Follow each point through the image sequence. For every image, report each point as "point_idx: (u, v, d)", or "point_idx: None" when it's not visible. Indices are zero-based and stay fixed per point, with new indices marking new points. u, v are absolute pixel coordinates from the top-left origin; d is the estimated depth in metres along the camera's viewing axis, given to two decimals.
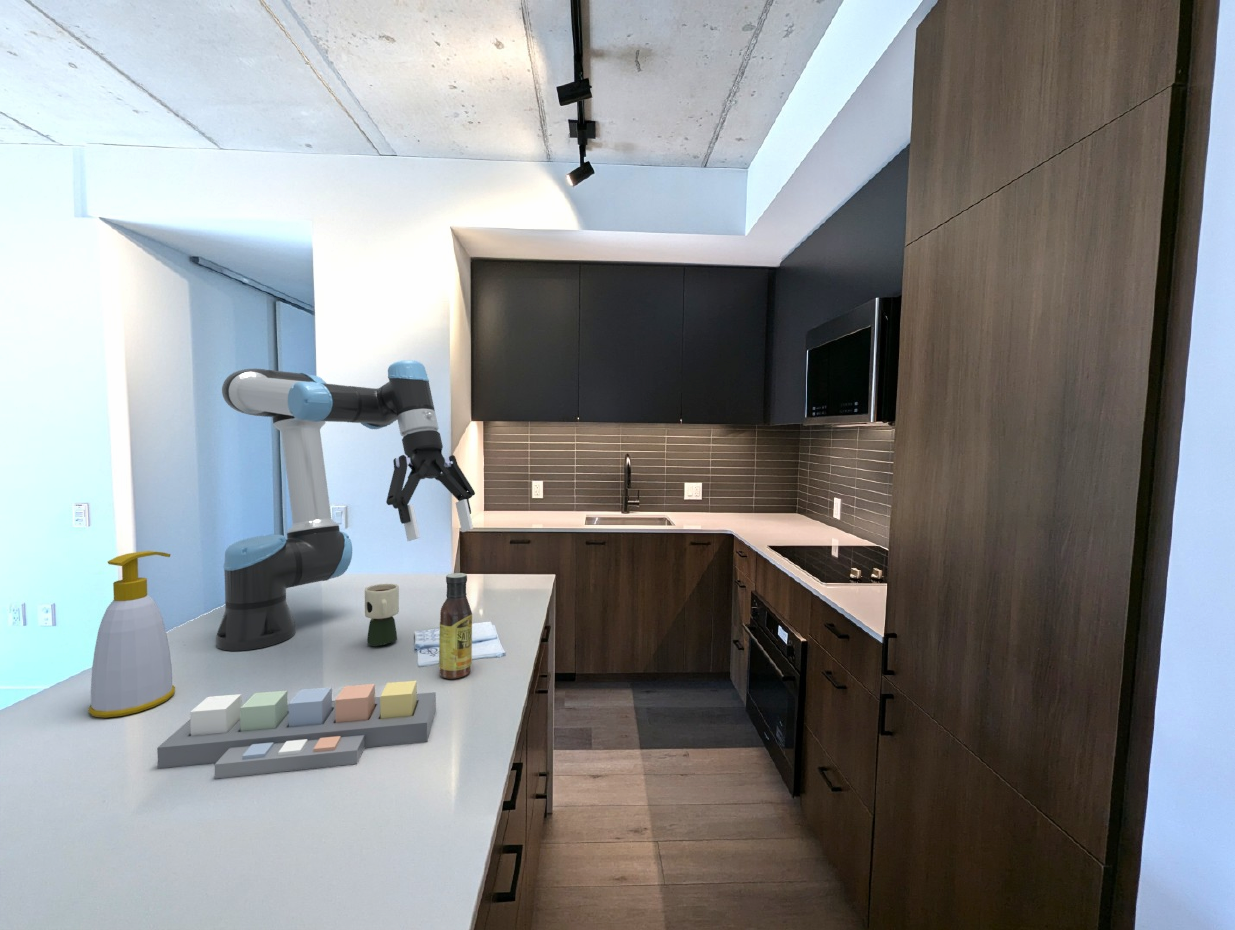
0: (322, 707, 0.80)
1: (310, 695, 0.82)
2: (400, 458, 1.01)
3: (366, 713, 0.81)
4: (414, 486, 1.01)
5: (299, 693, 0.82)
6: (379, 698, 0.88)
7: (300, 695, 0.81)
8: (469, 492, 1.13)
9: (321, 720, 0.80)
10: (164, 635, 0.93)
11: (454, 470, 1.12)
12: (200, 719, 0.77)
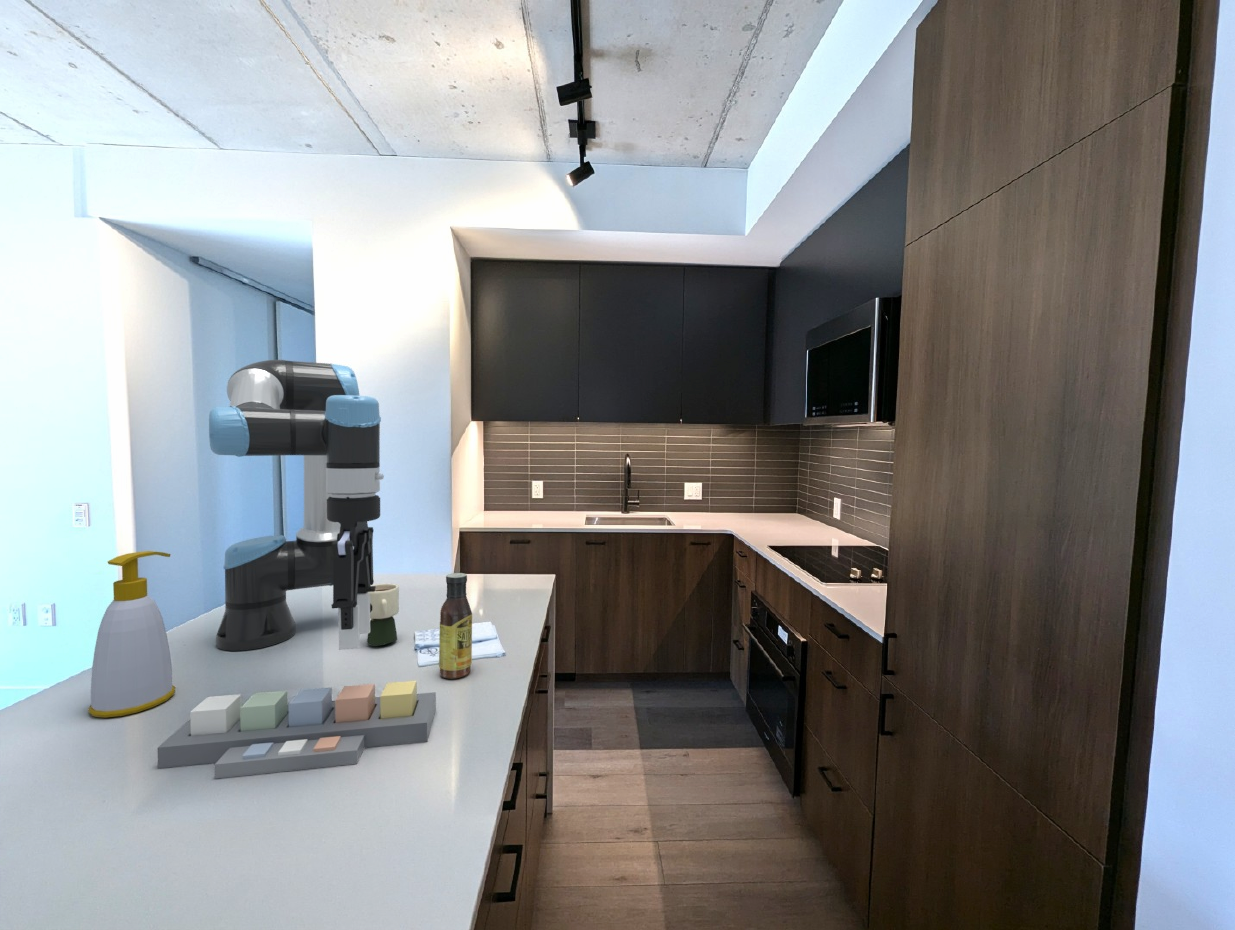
0: (322, 707, 0.80)
1: (310, 695, 0.82)
2: (348, 547, 0.76)
3: (366, 713, 0.81)
4: (357, 577, 0.80)
5: (299, 693, 0.82)
6: (379, 698, 0.88)
7: (300, 695, 0.81)
8: (370, 579, 0.88)
9: (321, 720, 0.80)
10: (164, 635, 0.93)
11: None
12: (200, 719, 0.77)
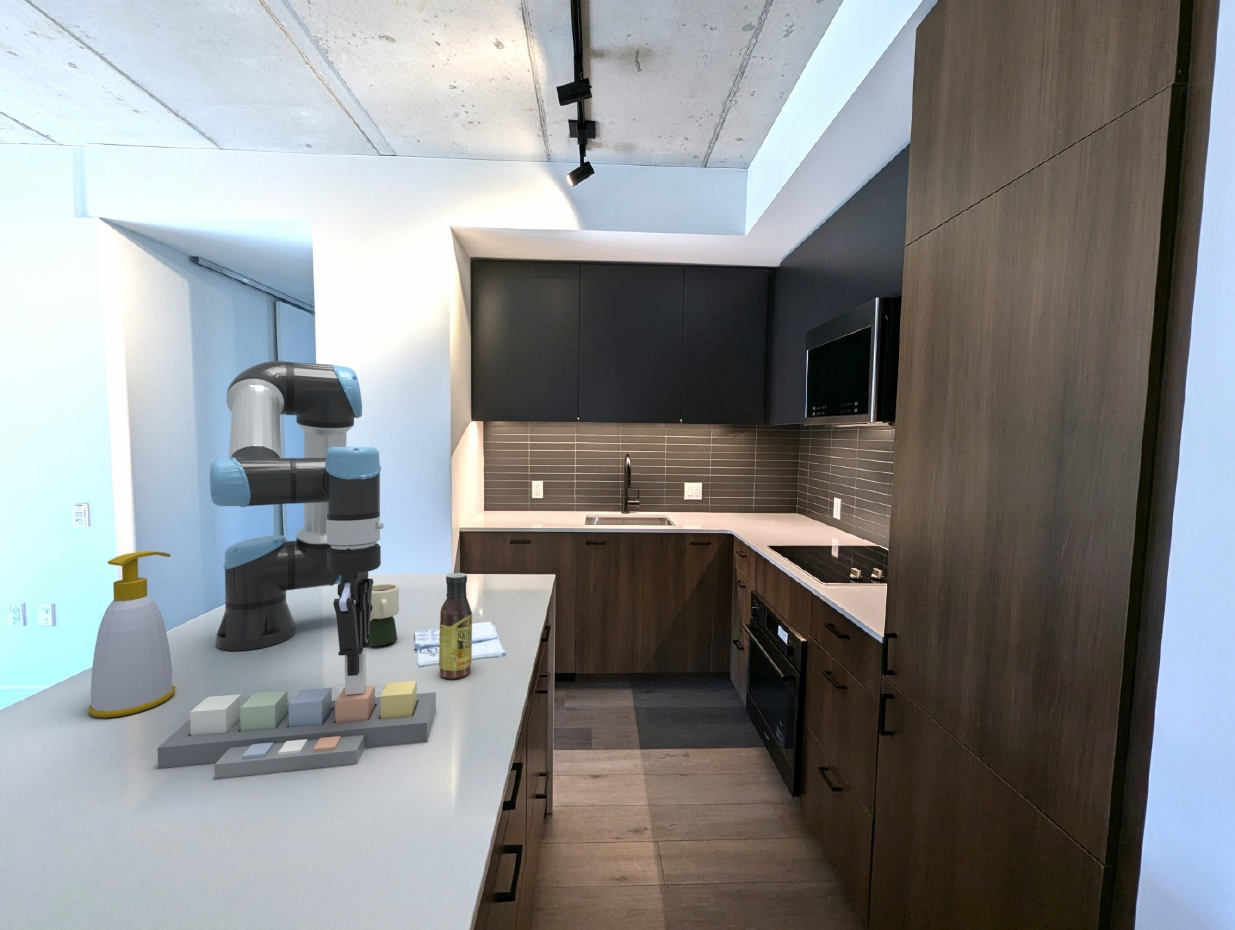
0: (322, 707, 0.80)
1: (310, 695, 0.82)
2: (350, 605, 0.77)
3: (366, 714, 0.81)
4: (361, 625, 0.82)
5: (299, 693, 0.82)
6: (379, 698, 0.88)
7: (300, 695, 0.81)
8: None
9: (321, 720, 0.80)
10: (164, 635, 0.93)
11: None
12: (200, 719, 0.77)
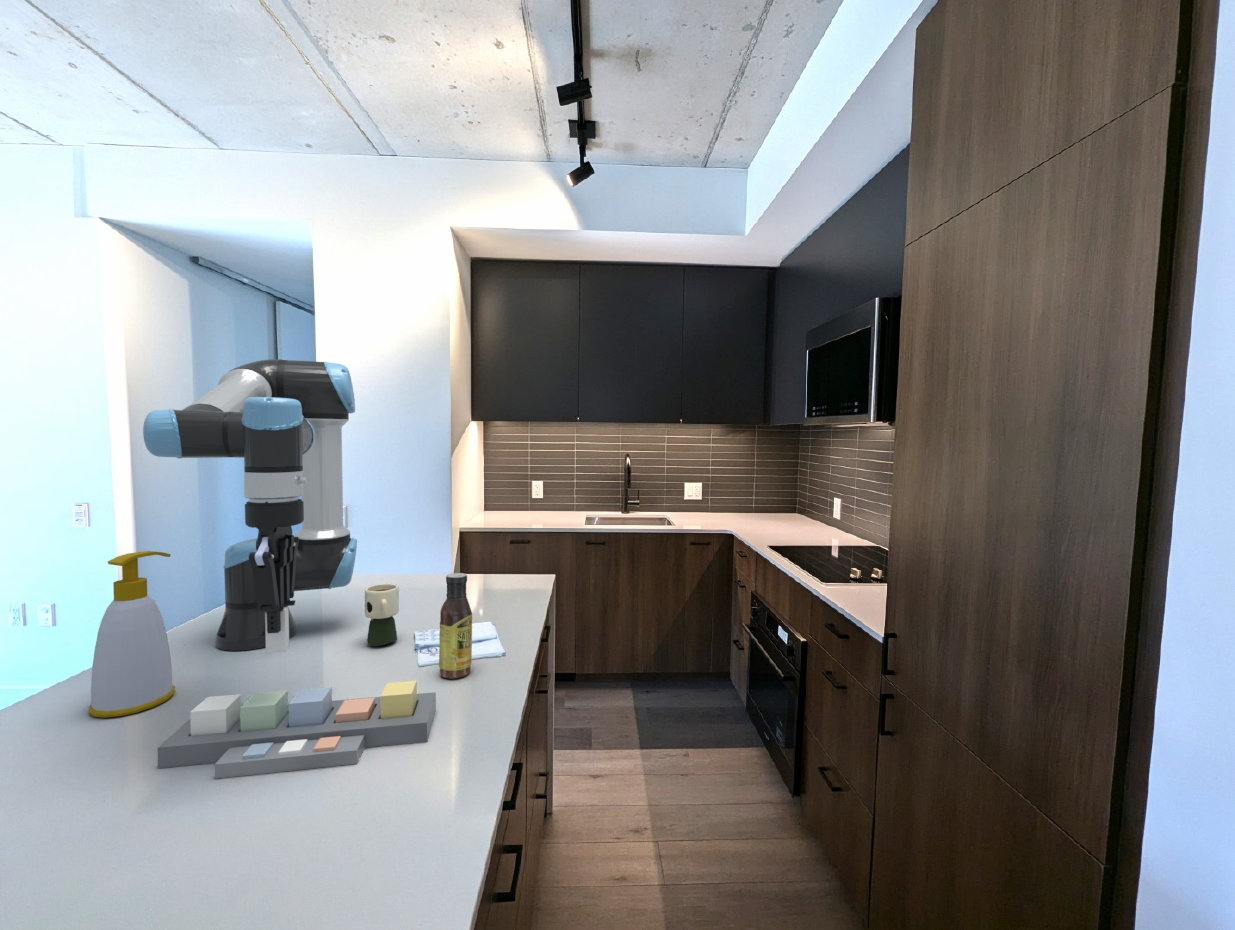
0: (322, 707, 0.80)
1: (310, 695, 0.82)
2: (266, 559, 0.74)
3: None
4: (282, 581, 0.79)
5: (299, 693, 0.82)
6: (379, 698, 0.88)
7: (300, 695, 0.81)
8: (289, 591, 0.83)
9: (321, 720, 0.80)
10: (164, 635, 0.93)
11: None
12: (200, 719, 0.77)
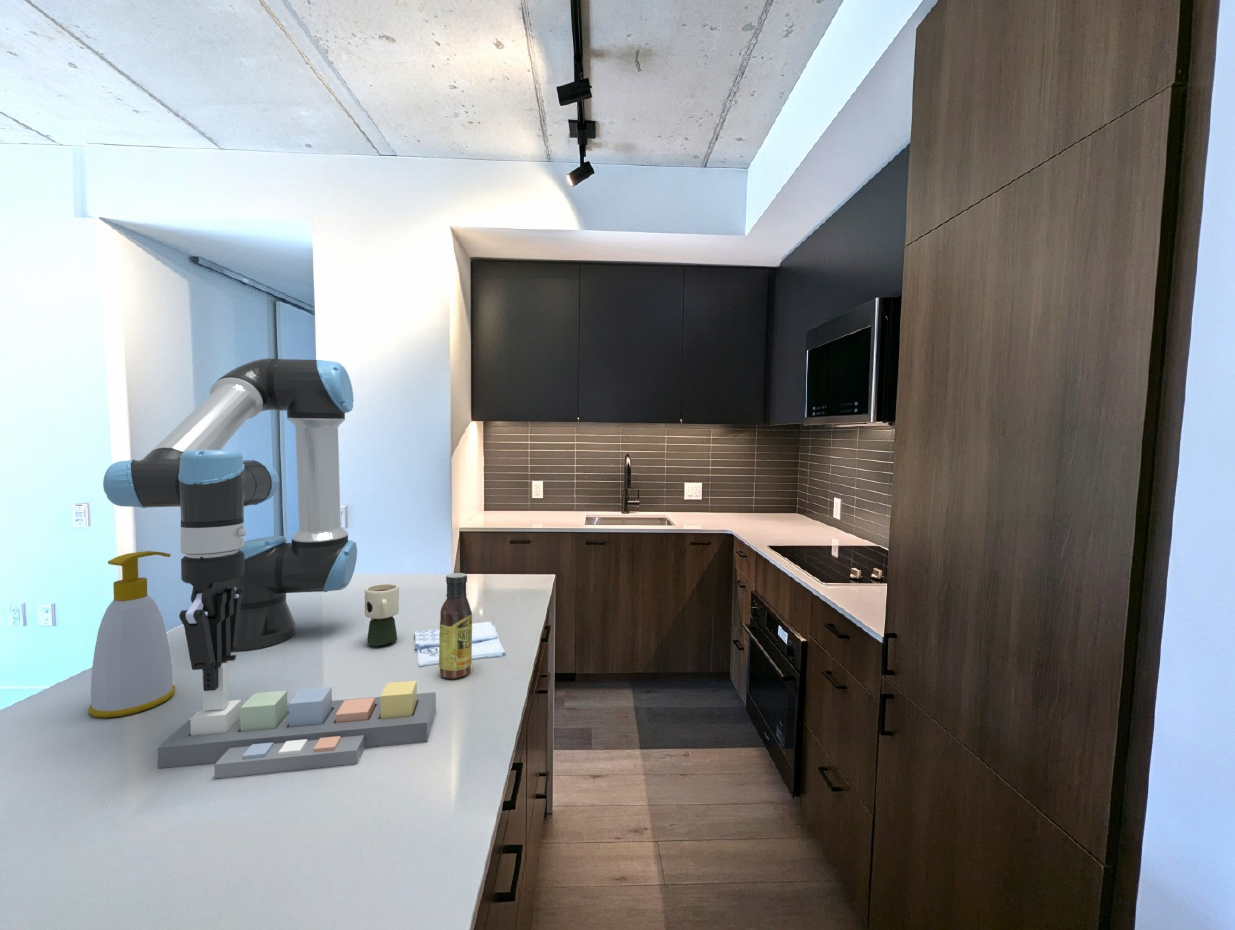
0: (322, 707, 0.80)
1: (310, 695, 0.82)
2: (198, 617, 0.73)
3: None
4: (219, 637, 0.78)
5: (299, 693, 0.82)
6: (379, 698, 0.88)
7: (300, 695, 0.81)
8: (231, 645, 0.81)
9: (321, 720, 0.80)
10: (164, 635, 0.93)
11: None
12: (200, 725, 0.77)
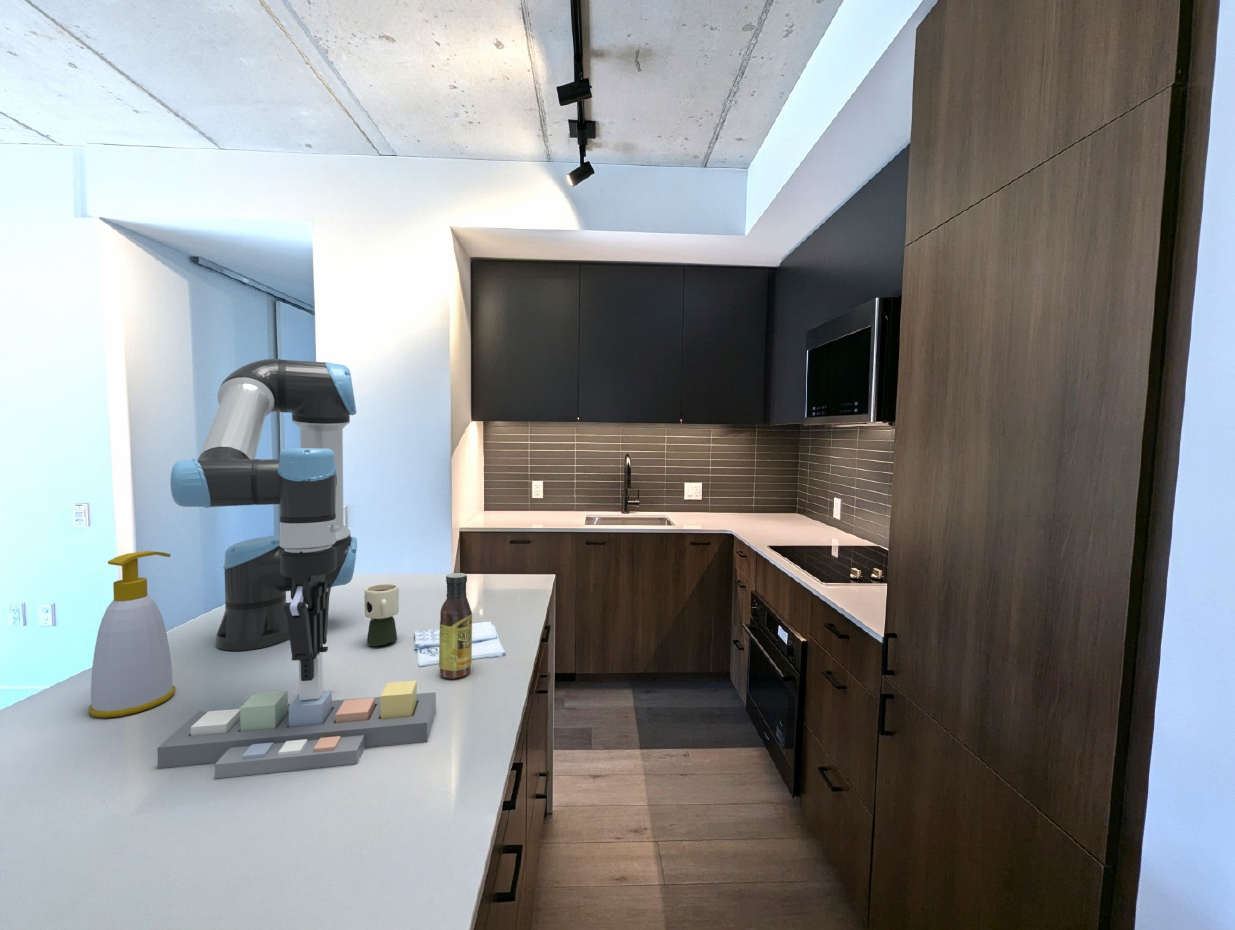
0: (322, 710, 0.80)
1: None
2: (301, 610, 0.75)
3: None
4: (315, 629, 0.80)
5: None
6: (379, 698, 0.88)
7: None
8: (322, 637, 0.84)
9: (321, 723, 0.80)
10: (164, 635, 0.93)
11: None
12: (201, 734, 0.77)
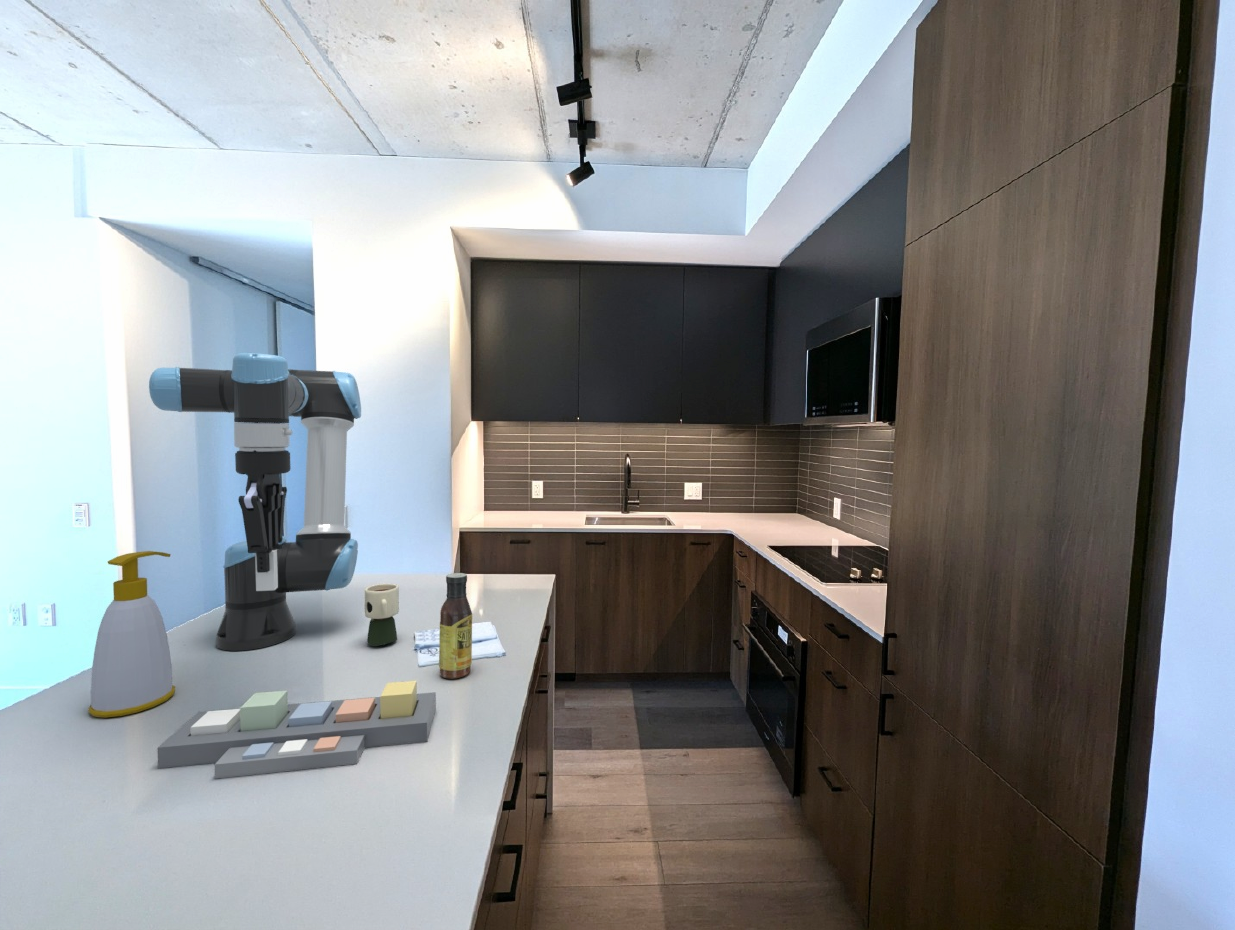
0: (322, 721, 0.80)
1: (310, 709, 0.82)
2: (255, 502, 0.81)
3: None
4: (270, 525, 0.86)
5: (299, 707, 0.82)
6: (379, 698, 0.88)
7: (300, 710, 0.81)
8: (278, 536, 0.90)
9: None
10: (164, 635, 0.93)
11: None
12: (201, 734, 0.77)
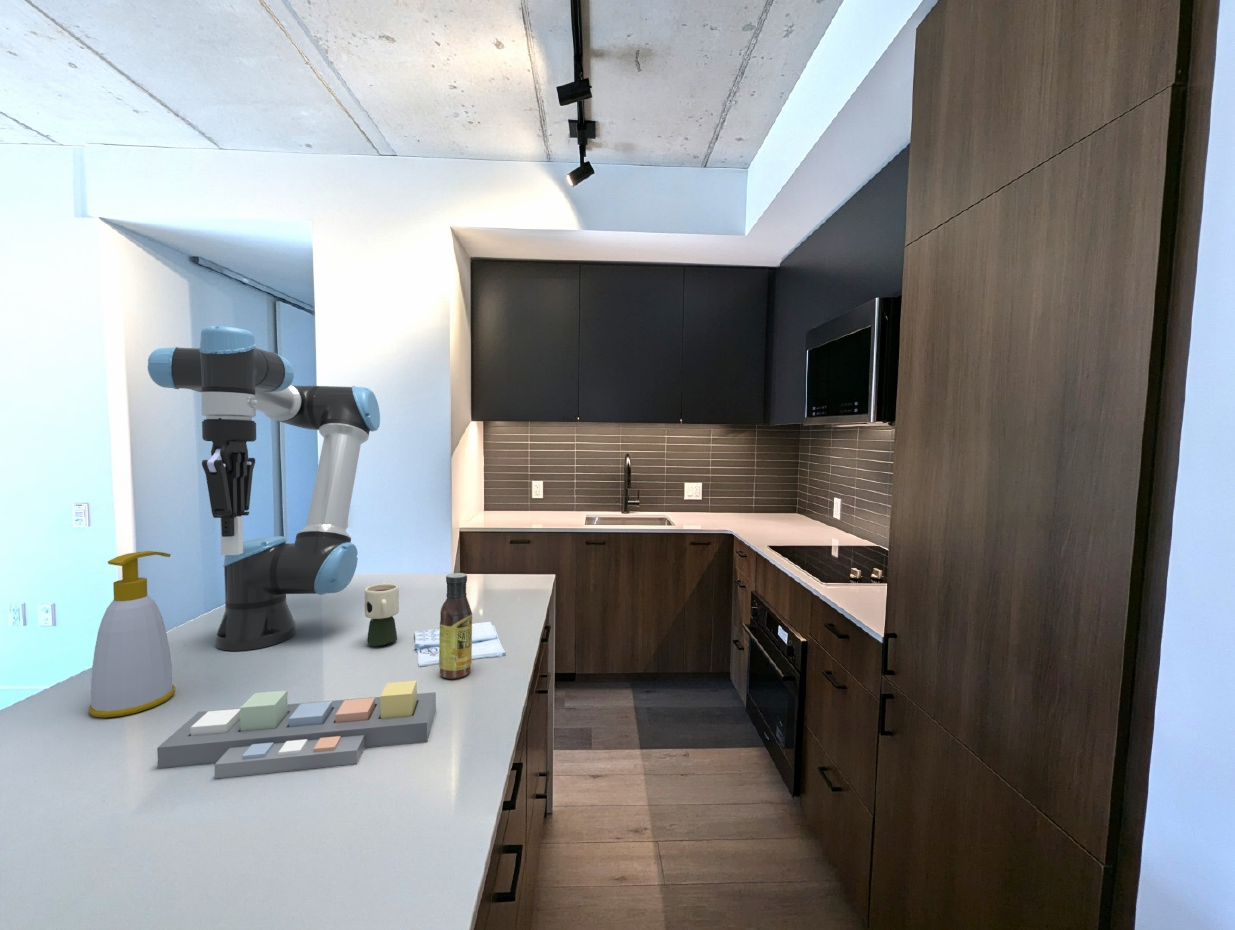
0: (322, 721, 0.80)
1: (310, 709, 0.82)
2: (217, 466, 0.85)
3: None
4: (235, 491, 0.90)
5: (299, 707, 0.82)
6: (379, 698, 0.88)
7: (300, 710, 0.81)
8: (245, 504, 0.93)
9: None
10: (164, 635, 0.93)
11: None
12: (201, 734, 0.77)
